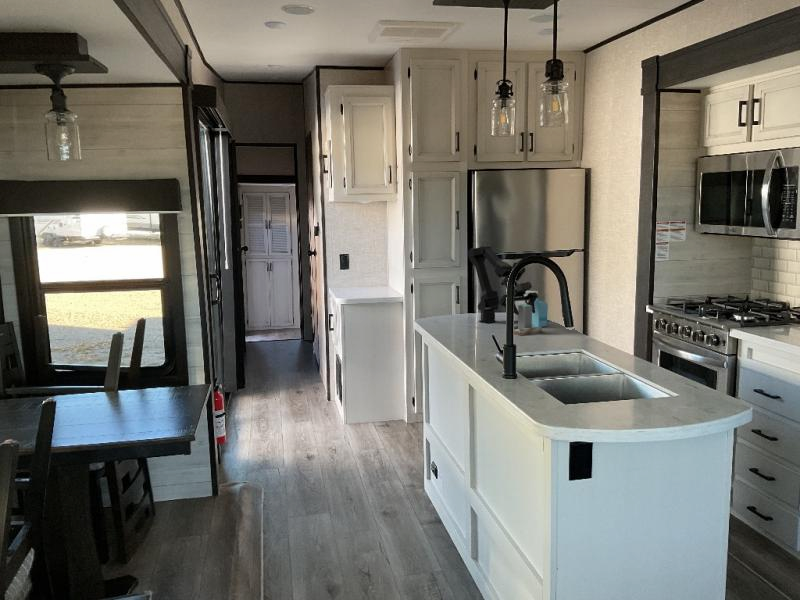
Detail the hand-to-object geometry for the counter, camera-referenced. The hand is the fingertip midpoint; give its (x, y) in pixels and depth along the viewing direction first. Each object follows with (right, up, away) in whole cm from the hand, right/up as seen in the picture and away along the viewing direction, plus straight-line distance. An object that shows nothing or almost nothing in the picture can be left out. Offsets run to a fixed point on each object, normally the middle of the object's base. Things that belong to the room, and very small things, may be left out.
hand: (526, 313), depth 305 cm
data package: (+9, -6, +20) cm, 23 cm away
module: (0, -7, +2) cm, 8 cm away
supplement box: (+6, -4, +33) cm, 34 cm away
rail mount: (0, -9, +2) cm, 9 cm away
